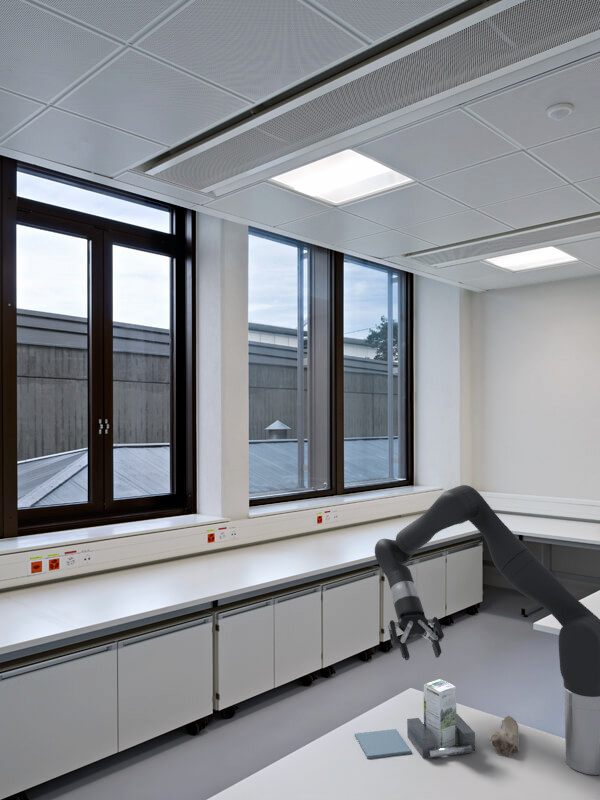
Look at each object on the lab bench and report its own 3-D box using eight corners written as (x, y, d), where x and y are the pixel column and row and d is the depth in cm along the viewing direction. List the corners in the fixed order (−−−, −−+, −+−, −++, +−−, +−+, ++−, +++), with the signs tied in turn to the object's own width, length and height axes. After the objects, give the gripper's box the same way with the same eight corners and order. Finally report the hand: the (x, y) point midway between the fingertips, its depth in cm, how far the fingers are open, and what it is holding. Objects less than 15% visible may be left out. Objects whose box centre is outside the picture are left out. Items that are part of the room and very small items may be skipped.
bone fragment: (516, 759, 148) (516, 738, 149) (489, 752, 152) (488, 732, 152) (528, 734, 160) (527, 715, 160) (502, 728, 163) (501, 710, 164)
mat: (395, 731, 162) (395, 728, 162) (411, 753, 151) (411, 750, 151) (354, 736, 160) (354, 733, 160) (367, 758, 149) (367, 756, 149)
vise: (457, 731, 162) (456, 713, 162) (478, 754, 150) (477, 735, 150) (407, 737, 159) (407, 719, 159) (425, 761, 148) (424, 741, 148)
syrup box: (439, 735, 160) (438, 677, 160) (457, 745, 155) (456, 685, 155) (423, 742, 156) (422, 683, 157) (441, 752, 151) (439, 691, 152)
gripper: (385, 596, 174) (400, 653, 162) (434, 592, 177) (452, 648, 165) (379, 610, 179) (394, 666, 168) (427, 606, 182) (444, 661, 170)
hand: (423, 657), depth 166 cm, fingers open, 8 cm apart
